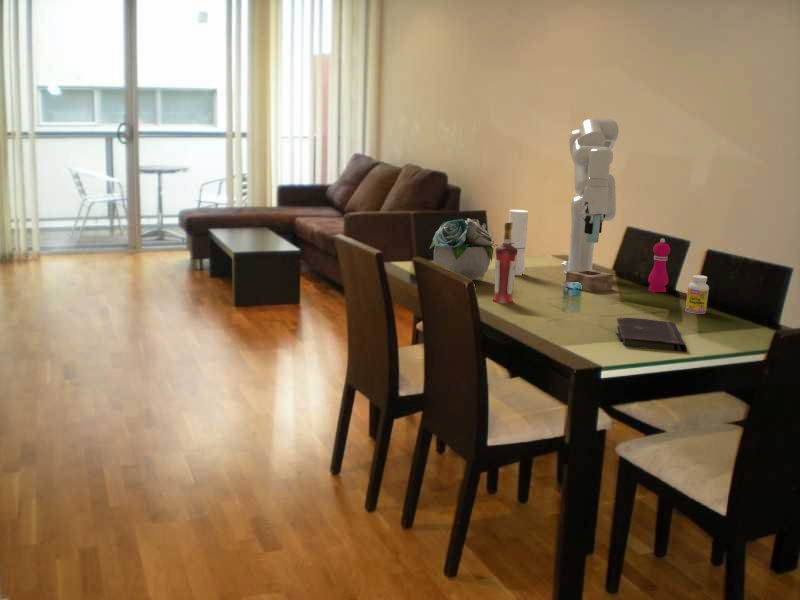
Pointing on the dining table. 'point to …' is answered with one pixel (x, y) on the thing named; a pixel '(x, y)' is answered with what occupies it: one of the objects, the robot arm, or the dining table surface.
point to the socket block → (591, 279)
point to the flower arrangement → (463, 247)
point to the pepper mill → (659, 268)
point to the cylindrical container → (519, 236)
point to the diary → (649, 334)
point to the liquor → (505, 268)
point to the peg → (594, 230)
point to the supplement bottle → (697, 295)
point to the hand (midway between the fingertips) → (592, 232)
